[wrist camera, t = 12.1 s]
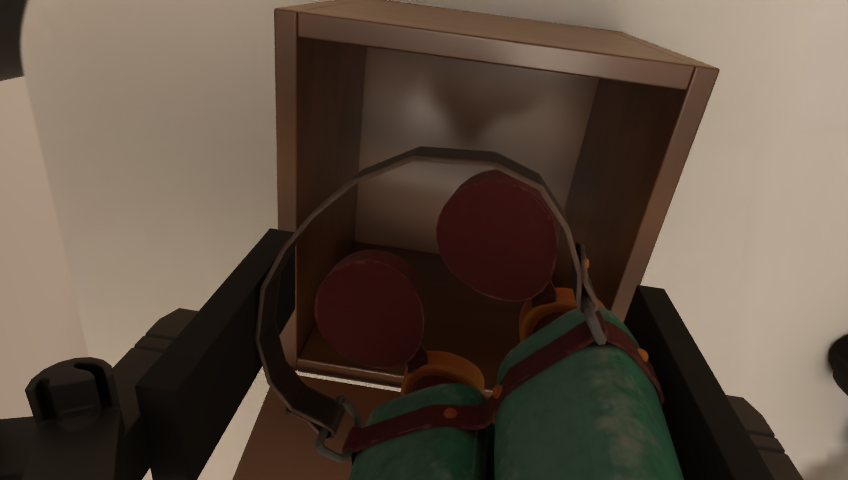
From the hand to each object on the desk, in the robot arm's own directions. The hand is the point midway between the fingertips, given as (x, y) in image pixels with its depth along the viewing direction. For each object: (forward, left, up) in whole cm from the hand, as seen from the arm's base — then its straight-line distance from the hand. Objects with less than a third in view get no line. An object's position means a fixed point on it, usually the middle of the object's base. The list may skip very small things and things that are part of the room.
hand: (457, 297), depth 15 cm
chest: (+1, 0, -18) cm, 18 cm away
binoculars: (0, 0, -1) cm, 1 cm away
